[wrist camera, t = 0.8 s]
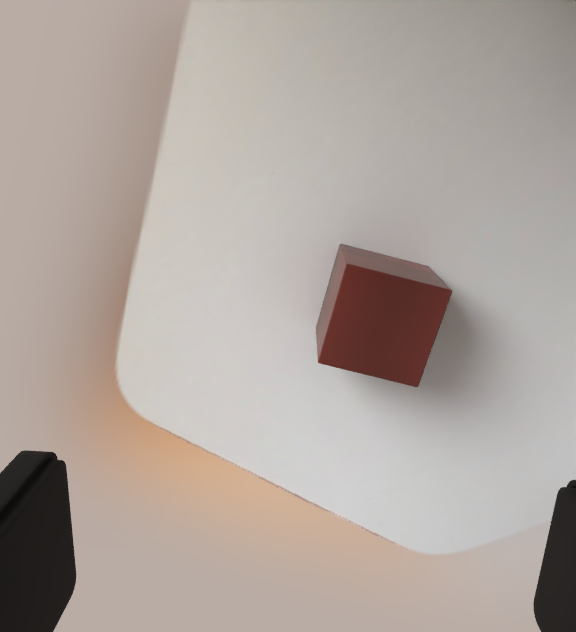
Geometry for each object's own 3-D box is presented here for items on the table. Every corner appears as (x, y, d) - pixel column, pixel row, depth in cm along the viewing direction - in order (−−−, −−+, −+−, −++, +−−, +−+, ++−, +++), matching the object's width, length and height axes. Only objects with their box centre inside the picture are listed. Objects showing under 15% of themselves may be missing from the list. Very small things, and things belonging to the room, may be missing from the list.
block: (315, 328, 28) (317, 363, 23) (339, 243, 26) (346, 263, 22) (400, 350, 28) (418, 388, 24) (429, 266, 27) (453, 290, 22)
